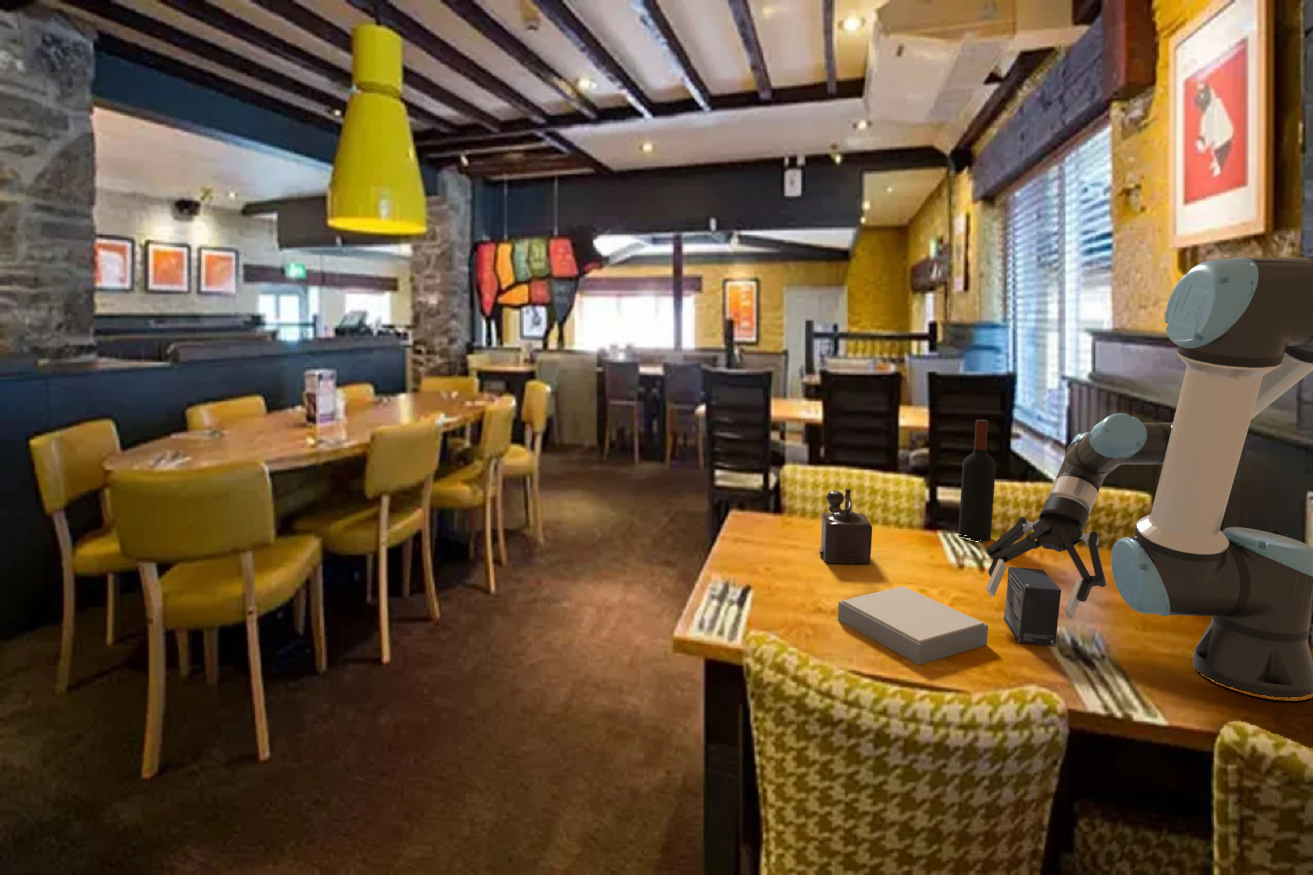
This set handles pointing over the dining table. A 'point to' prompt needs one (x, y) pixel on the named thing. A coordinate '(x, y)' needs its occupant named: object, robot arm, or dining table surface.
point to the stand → (912, 624)
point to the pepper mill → (845, 533)
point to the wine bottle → (977, 489)
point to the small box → (1032, 606)
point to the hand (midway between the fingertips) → (1027, 603)
